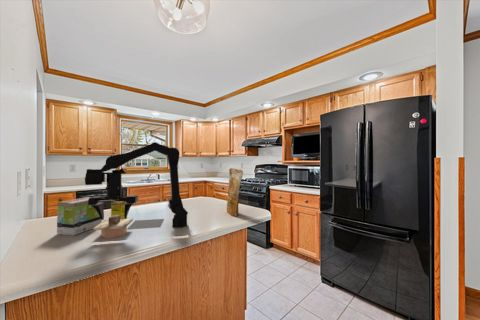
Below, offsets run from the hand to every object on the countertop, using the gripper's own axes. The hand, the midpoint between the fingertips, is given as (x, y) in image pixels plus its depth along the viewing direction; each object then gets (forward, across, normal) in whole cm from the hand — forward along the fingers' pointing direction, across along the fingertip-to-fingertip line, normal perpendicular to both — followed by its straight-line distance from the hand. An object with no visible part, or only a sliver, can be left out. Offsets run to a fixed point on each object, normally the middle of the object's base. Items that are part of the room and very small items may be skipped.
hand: (114, 219), depth 95 cm
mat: (+8, -11, -13) cm, 19 cm away
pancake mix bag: (+8, -59, -28) cm, 66 cm away
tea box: (+8, +19, -13) cm, 24 cm away
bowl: (+8, 0, 0) cm, 8 cm away
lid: (+3, 0, 0) cm, 3 cm away
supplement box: (+8, +6, -26) cm, 28 cm away
